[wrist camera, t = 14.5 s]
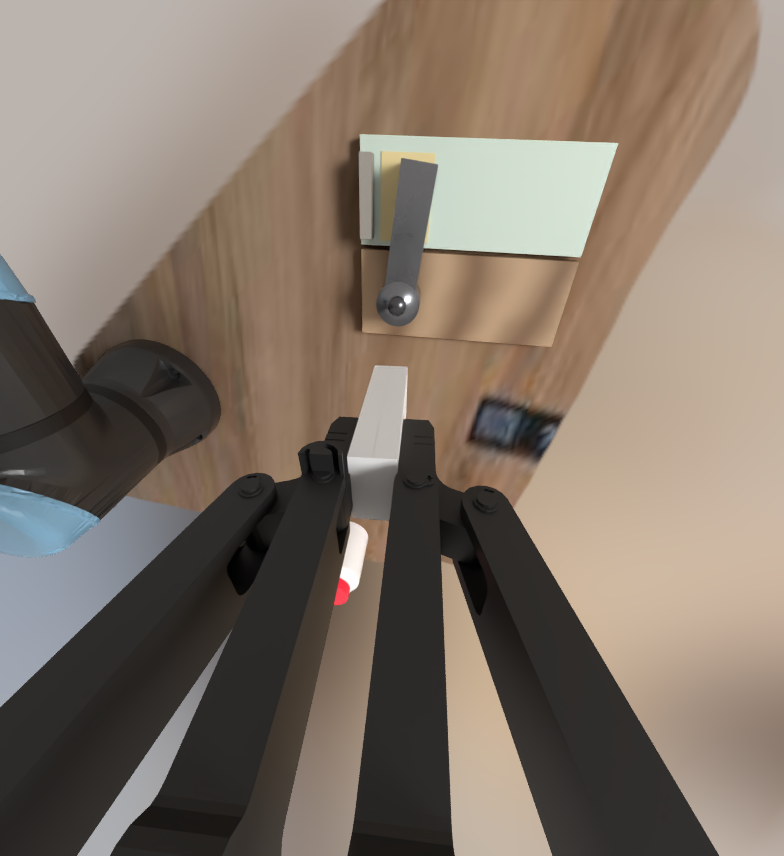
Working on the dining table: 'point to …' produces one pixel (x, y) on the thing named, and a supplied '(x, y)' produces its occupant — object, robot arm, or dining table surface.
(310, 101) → the dining table surface
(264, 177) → the dining table surface
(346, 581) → the pill bottle
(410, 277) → the latch bar
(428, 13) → the dining table surface
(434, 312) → the board
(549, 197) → the door panel
